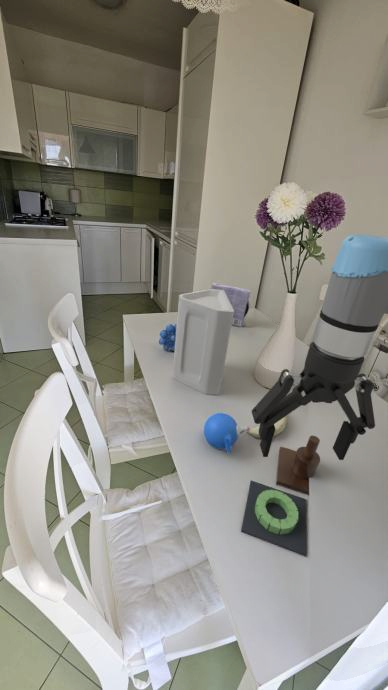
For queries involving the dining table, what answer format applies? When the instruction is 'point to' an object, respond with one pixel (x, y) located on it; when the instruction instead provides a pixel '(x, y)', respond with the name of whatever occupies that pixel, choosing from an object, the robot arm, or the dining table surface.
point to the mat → (254, 528)
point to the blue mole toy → (222, 431)
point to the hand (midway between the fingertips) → (300, 452)
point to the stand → (298, 466)
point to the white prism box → (202, 339)
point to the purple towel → (236, 301)
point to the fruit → (278, 426)
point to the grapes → (168, 337)
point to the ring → (273, 523)
